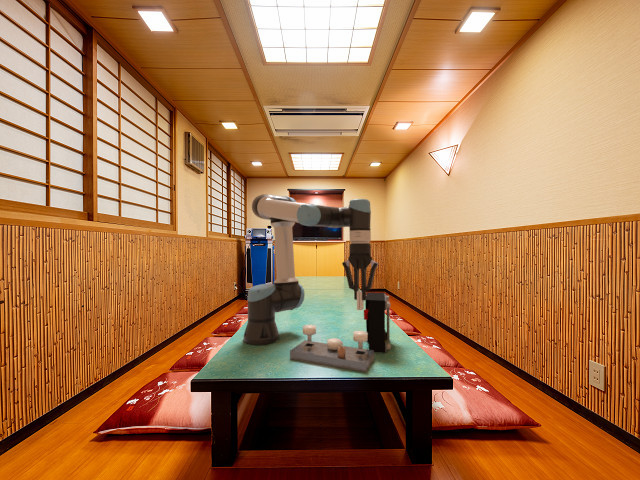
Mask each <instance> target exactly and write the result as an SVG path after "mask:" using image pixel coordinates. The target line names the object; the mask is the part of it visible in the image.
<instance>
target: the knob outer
mask: <svg viewBox="0 0 640 480" xmlns="http://www.w3.org/2000/svg"><path fill="white" fill-rule="evenodd" d="M352 337H353V338H352V341H354V342H356V343H358V344H357V348H358V349H364V345H363V344H364V343H367V342H368V341H367V340H368V333H367V331H364V330H355V331H353V333H352Z"/></svg>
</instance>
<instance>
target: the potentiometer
mask: <svg viewBox="0 0 640 480" xmlns="http://www.w3.org/2000/svg"><path fill="white" fill-rule="evenodd" d="M343 346H344V341H341V342H340V347H338V357H339V358H345V347H343Z"/></svg>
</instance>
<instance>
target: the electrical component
mask: <svg viewBox="0 0 640 480" xmlns="http://www.w3.org/2000/svg"><path fill="white" fill-rule="evenodd" d="M364 304H365V305H364V306H365V309H363V320H365V326H366V328H365V329H366V332H367V333H368V340H367V341H366V342H368V350H374V353H377V354H386V353H387V352H388V350H391V349H392V347H391V343H390V341H391V340H390V307H391V302H390V295H387V294H386V293H384V292H369V291H368V292H367V291H366V300H364ZM385 314H386V315H385Z"/></svg>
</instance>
